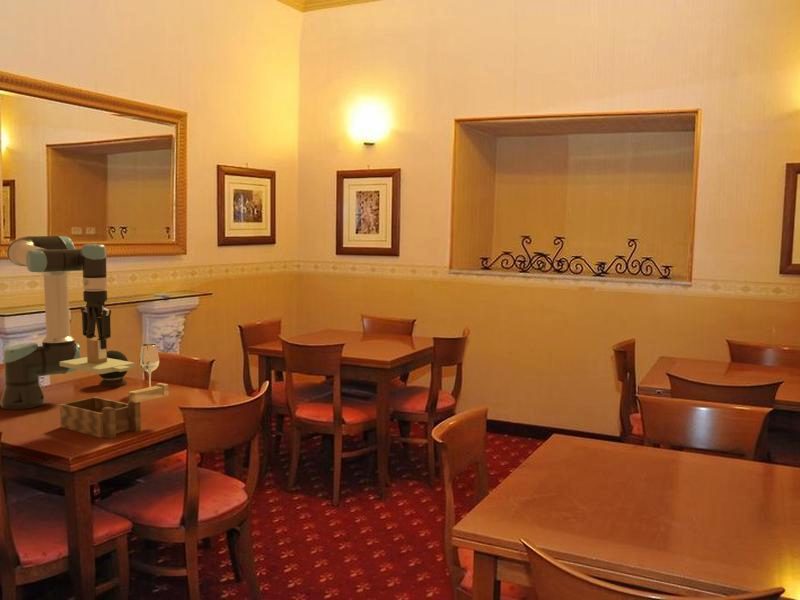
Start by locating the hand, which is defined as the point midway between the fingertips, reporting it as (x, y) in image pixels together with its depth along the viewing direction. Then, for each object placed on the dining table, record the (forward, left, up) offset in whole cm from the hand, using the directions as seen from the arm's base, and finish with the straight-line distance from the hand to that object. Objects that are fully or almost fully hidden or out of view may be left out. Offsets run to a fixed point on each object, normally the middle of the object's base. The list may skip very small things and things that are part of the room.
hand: (97, 357), depth 259 cm
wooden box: (+2, -1, -25) cm, 25 cm away
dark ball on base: (-52, +44, -25) cm, 73 cm away
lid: (+2, 0, -4) cm, 4 cm away
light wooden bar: (+13, +11, -15) cm, 22 cm away
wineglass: (-28, +44, -25) cm, 58 cm away
